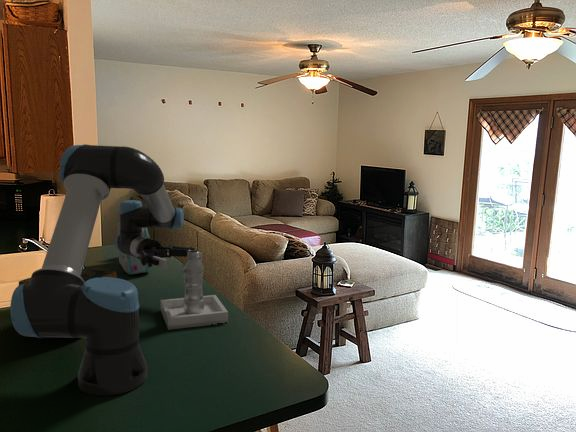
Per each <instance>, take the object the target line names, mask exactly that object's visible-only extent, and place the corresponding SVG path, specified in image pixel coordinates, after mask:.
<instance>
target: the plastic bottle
mask: <svg viewBox="0 0 576 432" xmlns="http://www.w3.org/2000/svg"><path fill="white" fill-rule="evenodd" d="M199 252H200V251H199V250H197V249H195V250H190V251H187V257H186V258H187V259H186V261H185V262H184V264H183V265H182V273H183V274H182V275H183V282H184V297H183V298H184V303H183V307H184V311H185V312H186V313H187V314H199V313H201V312H202V311H203V310H204V306H205V303H204V298H203V296H204V293H203V278H204V273H205V272H204V270H205V267H204V264H203V261H200V260H199V257H200V255H199Z"/></svg>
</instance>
